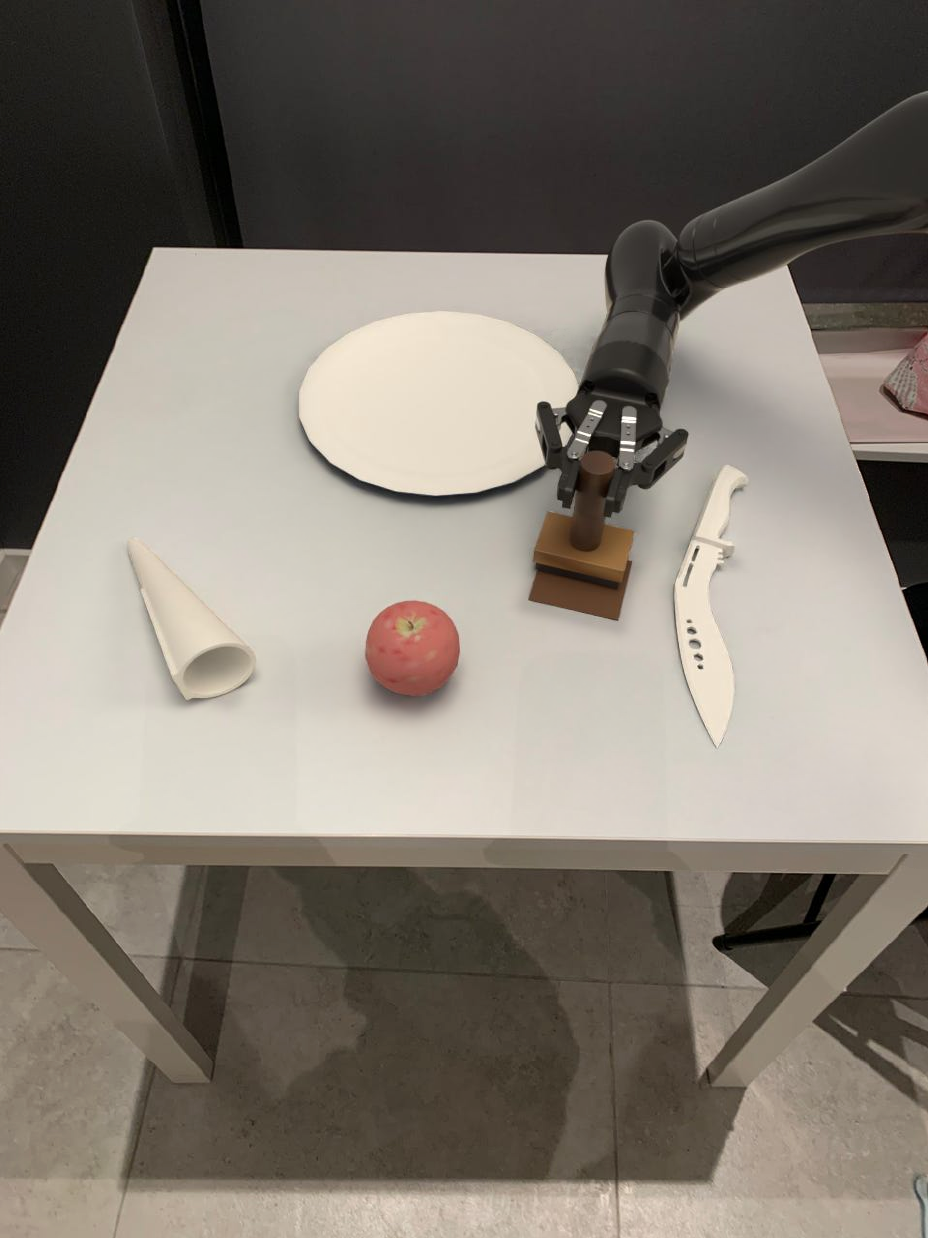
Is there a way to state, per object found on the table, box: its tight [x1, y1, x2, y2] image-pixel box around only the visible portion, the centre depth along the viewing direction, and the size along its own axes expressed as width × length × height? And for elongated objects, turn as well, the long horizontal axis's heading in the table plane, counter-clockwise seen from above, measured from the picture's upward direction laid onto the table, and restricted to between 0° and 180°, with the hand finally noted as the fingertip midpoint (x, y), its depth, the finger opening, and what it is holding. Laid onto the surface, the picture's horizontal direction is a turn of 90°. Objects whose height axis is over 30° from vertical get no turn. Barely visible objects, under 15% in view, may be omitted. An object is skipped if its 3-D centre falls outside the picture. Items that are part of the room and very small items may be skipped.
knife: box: [673, 464, 749, 749], centre depth 81 cm, size 30×2×8 cm
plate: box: [298, 310, 579, 498], centre depth 97 cm, size 29×29×2 cm
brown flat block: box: [527, 559, 633, 621], centre depth 83 cm, size 8×7×1 cm
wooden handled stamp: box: [532, 451, 636, 589], centre depth 79 cm, size 8×5×12 cm, turn 72°
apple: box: [365, 599, 461, 697], centre depth 73 cm, size 7×7×8 cm
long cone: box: [126, 536, 257, 701], centre depth 79 cm, size 6×6×19 cm
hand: (587, 505), depth 75 cm, fingers closed on wooden handled stamp, 3 cm apart
